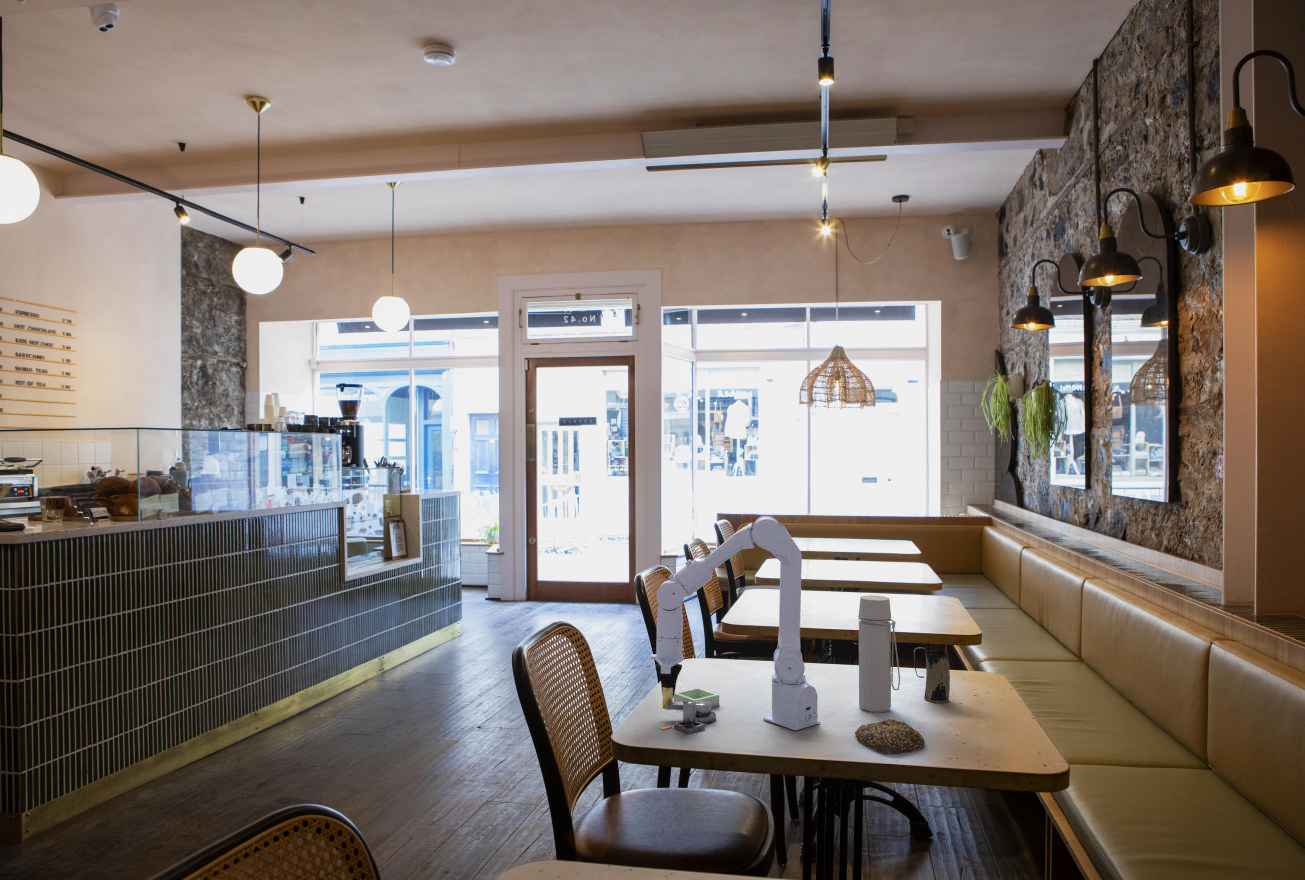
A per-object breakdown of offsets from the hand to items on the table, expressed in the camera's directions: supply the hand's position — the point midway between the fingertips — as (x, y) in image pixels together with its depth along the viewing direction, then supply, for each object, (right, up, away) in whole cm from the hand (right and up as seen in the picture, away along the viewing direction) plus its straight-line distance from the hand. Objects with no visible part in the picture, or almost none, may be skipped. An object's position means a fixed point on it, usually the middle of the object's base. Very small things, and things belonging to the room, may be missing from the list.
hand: (668, 698), depth 185 cm
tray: (+7, -4, +8) cm, 11 cm away
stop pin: (+4, -4, -8) cm, 10 cm away
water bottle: (+47, -4, +5) cm, 48 cm away
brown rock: (+44, -4, -16) cm, 47 cm away
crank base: (+5, -4, -5) cm, 8 cm away
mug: (+62, -4, +13) cm, 63 cm away
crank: (+4, -3, -2) cm, 5 cm away
